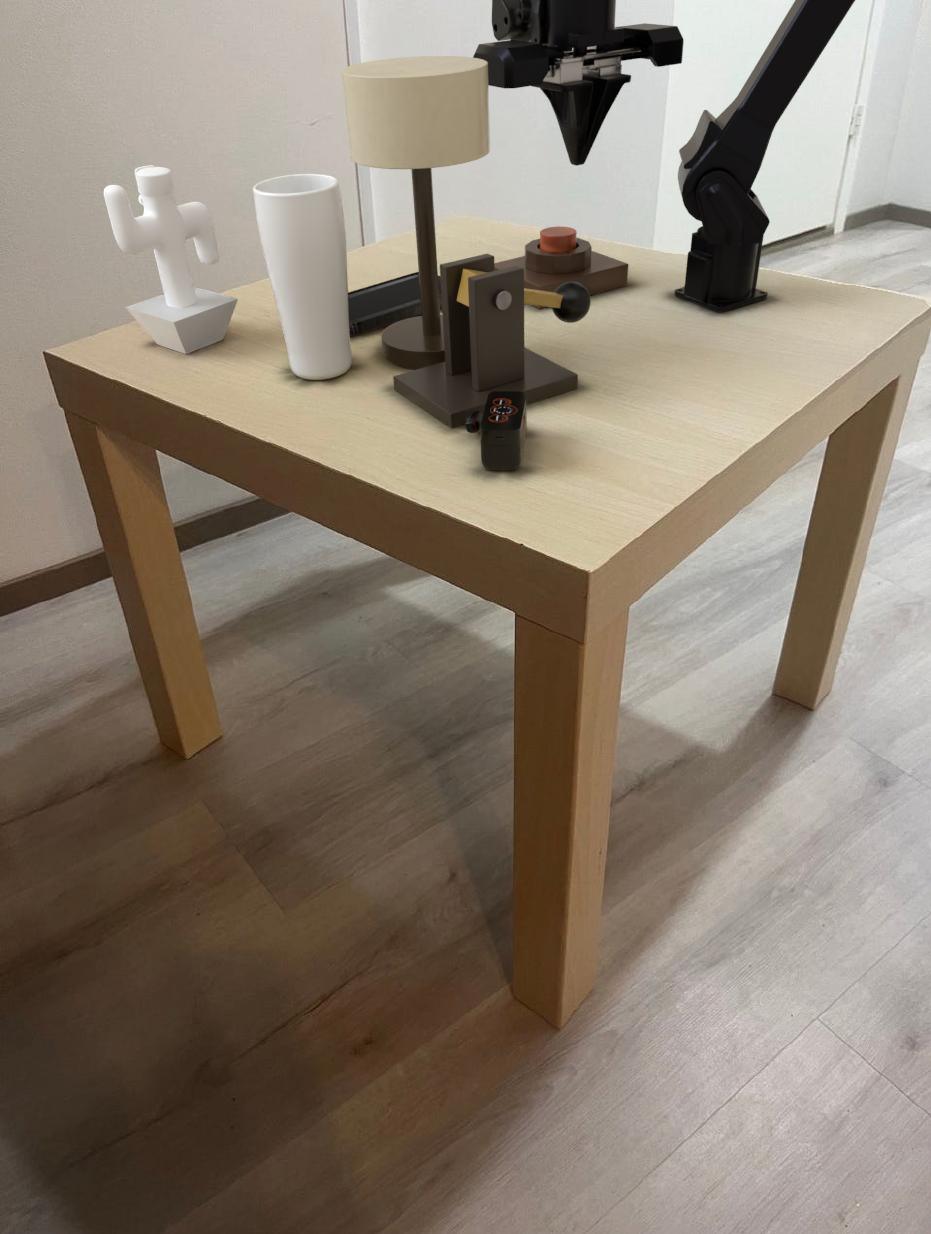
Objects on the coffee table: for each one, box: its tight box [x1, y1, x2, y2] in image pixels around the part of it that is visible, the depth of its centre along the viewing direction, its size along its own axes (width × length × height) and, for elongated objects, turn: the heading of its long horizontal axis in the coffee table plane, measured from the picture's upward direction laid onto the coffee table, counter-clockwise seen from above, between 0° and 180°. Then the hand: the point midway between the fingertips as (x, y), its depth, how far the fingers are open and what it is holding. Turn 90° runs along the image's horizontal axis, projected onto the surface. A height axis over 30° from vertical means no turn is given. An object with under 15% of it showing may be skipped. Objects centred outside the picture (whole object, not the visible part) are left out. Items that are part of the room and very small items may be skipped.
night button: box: [539, 226, 578, 252], centre depth 93 cm, size 4×4×2 cm
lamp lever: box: [457, 269, 592, 324], centre depth 74 cm, size 12×3×3 cm, turn 122°
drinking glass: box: [252, 173, 353, 381], centre depth 76 cm, size 7×7×15 cm
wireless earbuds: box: [464, 391, 528, 471], centre depth 67 cm, size 5×7×3 cm, turn 173°
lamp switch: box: [392, 253, 579, 429], centre depth 73 cm, size 12×9×10 cm
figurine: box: [103, 164, 239, 355], centre depth 83 cm, size 7×9×15 cm
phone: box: [348, 271, 442, 337], centre depth 92 cm, size 8×1×15 cm
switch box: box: [494, 237, 629, 310], centre depth 95 cm, size 11×9×4 cm
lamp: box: [341, 55, 491, 370], centre depth 77 cm, size 11×11×22 cm
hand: (577, 164), depth 85 cm, fingers closed
